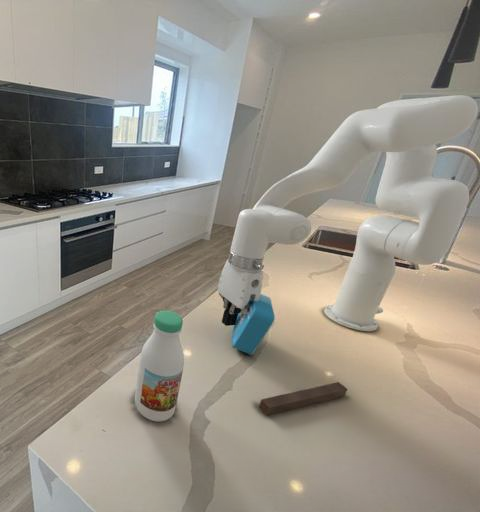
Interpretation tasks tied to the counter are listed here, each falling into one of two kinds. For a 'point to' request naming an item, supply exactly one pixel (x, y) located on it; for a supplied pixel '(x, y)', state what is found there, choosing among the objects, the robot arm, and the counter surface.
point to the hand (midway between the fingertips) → (228, 323)
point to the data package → (253, 325)
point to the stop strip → (302, 398)
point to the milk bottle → (160, 369)
